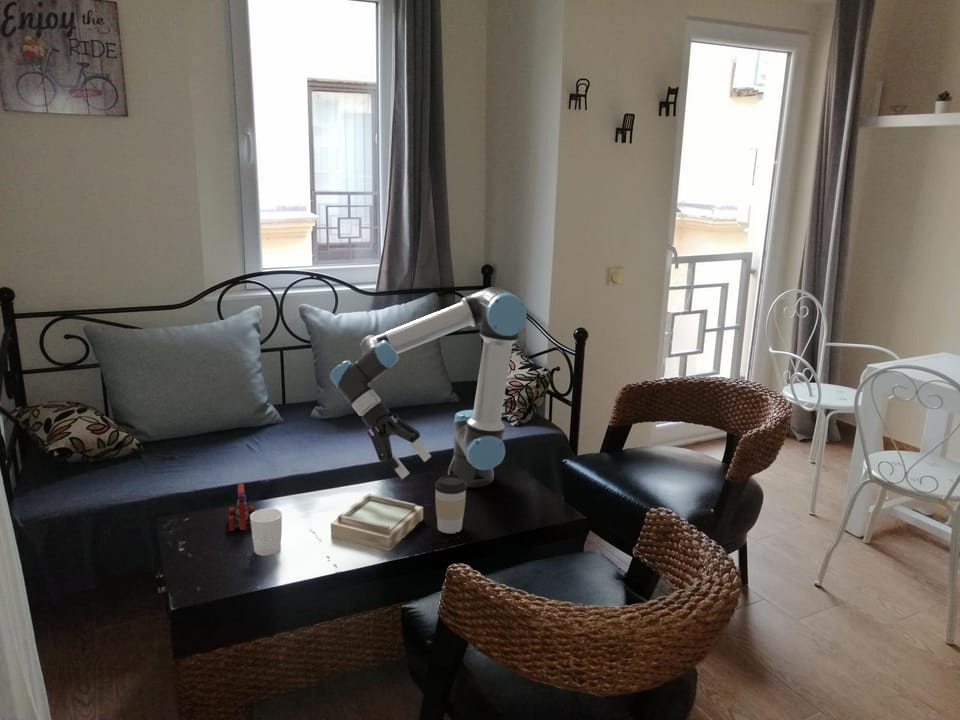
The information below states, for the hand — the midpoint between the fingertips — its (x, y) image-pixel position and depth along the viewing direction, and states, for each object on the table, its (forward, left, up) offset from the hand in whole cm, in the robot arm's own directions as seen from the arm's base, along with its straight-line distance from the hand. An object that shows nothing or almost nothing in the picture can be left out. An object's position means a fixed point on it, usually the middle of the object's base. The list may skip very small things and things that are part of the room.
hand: (417, 467), depth 204 cm
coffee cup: (0, +10, -17) cm, 20 cm away
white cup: (+32, -28, -17) cm, 45 cm away
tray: (+9, -8, -16) cm, 20 cm away
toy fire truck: (+24, -43, -17) cm, 52 cm away
